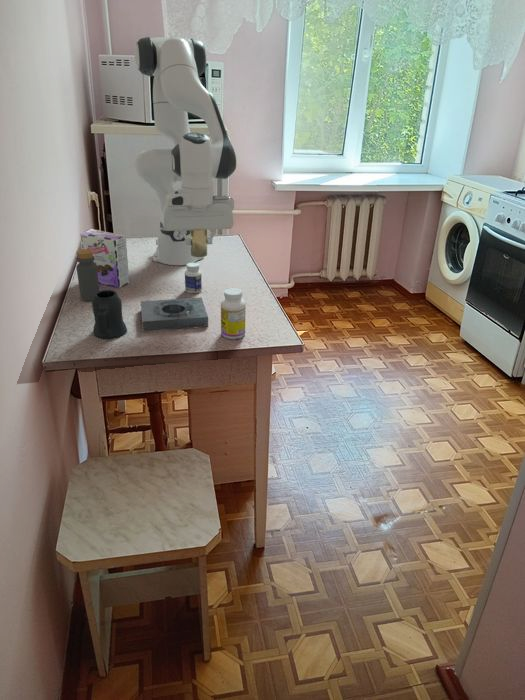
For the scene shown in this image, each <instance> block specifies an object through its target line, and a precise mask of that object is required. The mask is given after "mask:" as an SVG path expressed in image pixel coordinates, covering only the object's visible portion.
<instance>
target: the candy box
mask: <svg viewBox="0 0 525 700" xmlns="http://www.w3.org/2000/svg"><path fill="white" fill-rule="evenodd" d="M126 237H127V236H126V234H119V233H113V232H108V231H104V230H99V229H94V228H91V229H88V230H85V231H81V232H80V239H81V246H82V249H90V250H92V251H93V256H94V261H93V263H95V264H96V266H97V273H98V281H99V285H104V286H109V287H113V288H117V289H120V288H123V287H125V286H127V285H128V284H130V283H131V282H130V271H129V262H128V261H129V260H128V249H127V248H128V247H127V238H126Z"/></svg>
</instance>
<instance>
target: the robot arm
mask: <svg viewBox="0 0 525 700" xmlns="http://www.w3.org/2000/svg"><path fill="white" fill-rule="evenodd" d="M207 56H208V55H207V52H206V47H205V45H204V43H203V42H202V41H200V40H198V39H196V38H195V39H194V38H190V39H189V38H185V37H178V36H170V37H169V36H168V37H167V36H166V37H165V36H164V37H163V36H162V37H161V36H160V37H150V36H146V37H142V38H140V39H138V41H137V42H136V45H135V49H134V61H135V64H136V66H137V69H138V71H139V72H140V73H141V75H144V76H147V77H153V83H152V84H153V85H152V103H153V117H154V118H153V119H154V127H155V129H156V131H157V133H158V134H159V135H160V136H162V137H165V138H166V139H168V140H170V141H172V142H173V144H174V147H173V148H152V149H147V150H143V151H141V152H139V153H138V155H137V156H136V160H135V163H134V164H135V171H136V174H137V176H138V177H139V178H140V179H141V180H142V181H143V182H144V183H146V184H147V185H149V187H150V188H152V190H153V191H154V194H155V195H156V198H157V200H158V203H159V211H160V224H159V228H160V234H159V236H158V237H157V238H155V245H156V246H157V247H156V250H155V252H154V255H153V256H152V261H153V262H158V263H161V264H163V265H169V266H170V265H171V266H187V264H188V263H197V261H200V260H201V261H202V260H204V258H205V257H193V256H192V255H191V239H190V230H199V229H205V230H207V231H208V230H210V235H209V236H207V245H213V239H214V237H215V236H216V234H217V230H231V229H232V228H233V227H234V224H235V223H234V221H235V220H234V214H233V210H234V208H235V200H234V198H232V197H230V196H229V195H214V182H213V179H220V180H221V179H222V180H227V179H228V178H229V177H231V175H233V173H234V172H235V171H236V169H237V156H236V155H237V154H236V152H235V149H234V146H233V145H232V143H231V141H230V138H229V136H228V133H227V130H226V127H225V124H224V121H223V119H222V115H221V113H220V110H219V107H218V103H217V100H216V99H215V97H214V95H213V93H212V92H210V91H209V90H208V89H206V87H205V86H204V85H203V84H202V81H201V80H200V77H201V75H203V74H204V73H205V71H206V67H207V64H208V63H207V60H208V58H207ZM188 113H190V114H192V115H194V116H196V117H198V118H200V119H201V120H203V121H204V122H205V123H206V125H207V129H208V132H209V135H210V136H208V135H207V134H204V133H200V132H191V128H190V125H189V124H190V123H189V115H188ZM210 138H211V139H210ZM175 183H181V187H180V188H179V189H175V188H174V184H175Z"/></svg>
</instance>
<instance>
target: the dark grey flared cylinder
mask: <svg viewBox="0 0 525 700" xmlns="http://www.w3.org/2000/svg"><path fill="white" fill-rule="evenodd" d="M91 308H92V313H93V318H94V325H93V331H92V335H93V334H94V335H93V336H94V337H95V336H96V337H95V338H97V337H98V338H97V339H99V338H101V340H114V338H116V339H119V338H121V336H122V337H124V336H125V335H126V334H128V327H127V325H126V323H125V321H124V317H123V306H122V299H121V298H120V296H118V293H117V292H116V290H114V289H113V290H112V289H102V290H100V291H98V292H96V293H95V296H94V299H93V301H91Z"/></svg>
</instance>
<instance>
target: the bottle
mask: <svg viewBox="0 0 525 700" xmlns="http://www.w3.org/2000/svg"><path fill="white" fill-rule="evenodd" d="M75 253H76V255H77V257H76V262H77V265H76V267H75V269H76V273H77V280H78V289H79V295H80V300H81V301H83V302H89V303H90V302H91V303H92V301H93V299H94V296H95V293H96V292H98V291H101V290H100V289H101V288H100V283H99V281H98V273H97V266H96V264H95V263H93V261H94V256H93V251H92V250H90V249H83V248H82V249H78V250H77V251H76V252H75Z"/></svg>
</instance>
